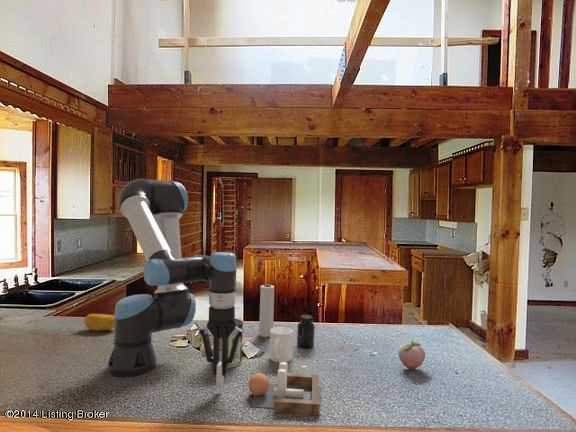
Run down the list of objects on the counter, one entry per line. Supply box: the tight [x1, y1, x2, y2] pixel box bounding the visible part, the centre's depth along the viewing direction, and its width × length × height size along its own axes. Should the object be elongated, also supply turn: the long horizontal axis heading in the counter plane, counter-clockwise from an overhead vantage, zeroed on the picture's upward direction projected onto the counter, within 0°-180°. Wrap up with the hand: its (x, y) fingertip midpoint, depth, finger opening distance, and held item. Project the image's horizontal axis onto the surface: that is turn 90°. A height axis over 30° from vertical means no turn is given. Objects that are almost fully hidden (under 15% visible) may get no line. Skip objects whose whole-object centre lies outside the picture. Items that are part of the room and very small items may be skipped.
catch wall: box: [273, 372, 321, 417], centre depth 108 cm, size 12×18×3 cm, turn 176°
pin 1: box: [278, 362, 288, 388], centre depth 111 cm, size 2×2×8 cm
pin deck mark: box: [250, 383, 298, 410], centre depth 109 cm, size 12×14×1 cm
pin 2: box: [276, 368, 286, 398], centre depth 106 cm, size 2×2×8 cm
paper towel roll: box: [258, 284, 275, 338], centre depth 162 cm, size 7×6×21 cm
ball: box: [248, 372, 270, 396], centre depth 109 cm, size 6×6×6 cm
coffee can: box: [212, 318, 244, 369], centre depth 132 cm, size 10×10×14 cm
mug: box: [269, 326, 294, 364], centre depth 135 cm, size 12×8×10 cm
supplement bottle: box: [296, 314, 316, 350], centre depth 150 cm, size 7×7×12 cm
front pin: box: [274, 388, 305, 400], centre depth 108 cm, size 2×2×8 cm
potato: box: [83, 313, 115, 332], centre depth 161 cm, size 7×14×7 cm, turn 84°
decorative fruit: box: [398, 340, 426, 371], centre depth 130 cm, size 9×8×10 cm
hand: (219, 385), depth 110 cm, fingers closed
